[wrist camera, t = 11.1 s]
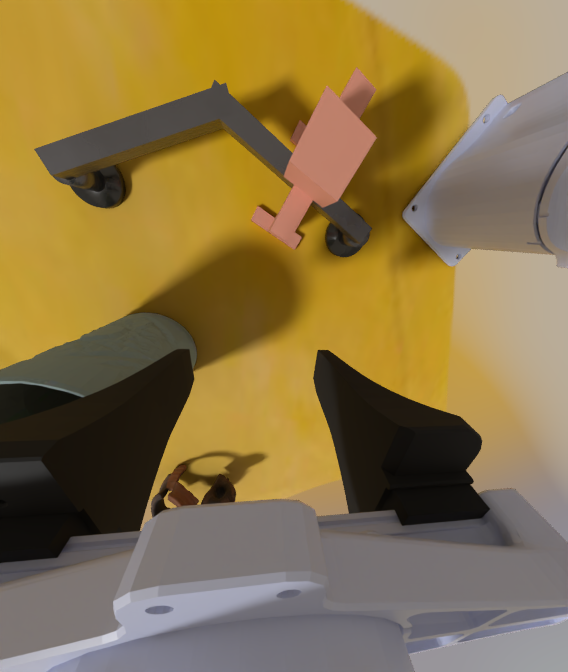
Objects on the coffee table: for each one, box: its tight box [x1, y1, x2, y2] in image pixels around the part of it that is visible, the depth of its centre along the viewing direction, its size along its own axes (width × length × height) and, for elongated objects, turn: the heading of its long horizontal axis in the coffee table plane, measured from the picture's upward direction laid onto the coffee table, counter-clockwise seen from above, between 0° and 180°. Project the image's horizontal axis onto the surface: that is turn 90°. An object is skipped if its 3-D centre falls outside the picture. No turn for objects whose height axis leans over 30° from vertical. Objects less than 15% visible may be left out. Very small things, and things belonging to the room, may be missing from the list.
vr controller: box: [151, 465, 236, 517], centre depth 31 cm, size 12×10×8 cm
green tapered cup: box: [0, 313, 197, 424], centre depth 17 cm, size 10×10×12 cm
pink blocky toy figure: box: [251, 67, 377, 250], centre depth 12 cm, size 4×7×10 cm, turn 148°
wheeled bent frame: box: [34, 80, 372, 257], centre depth 15 cm, size 12×22×4 cm, turn 55°
